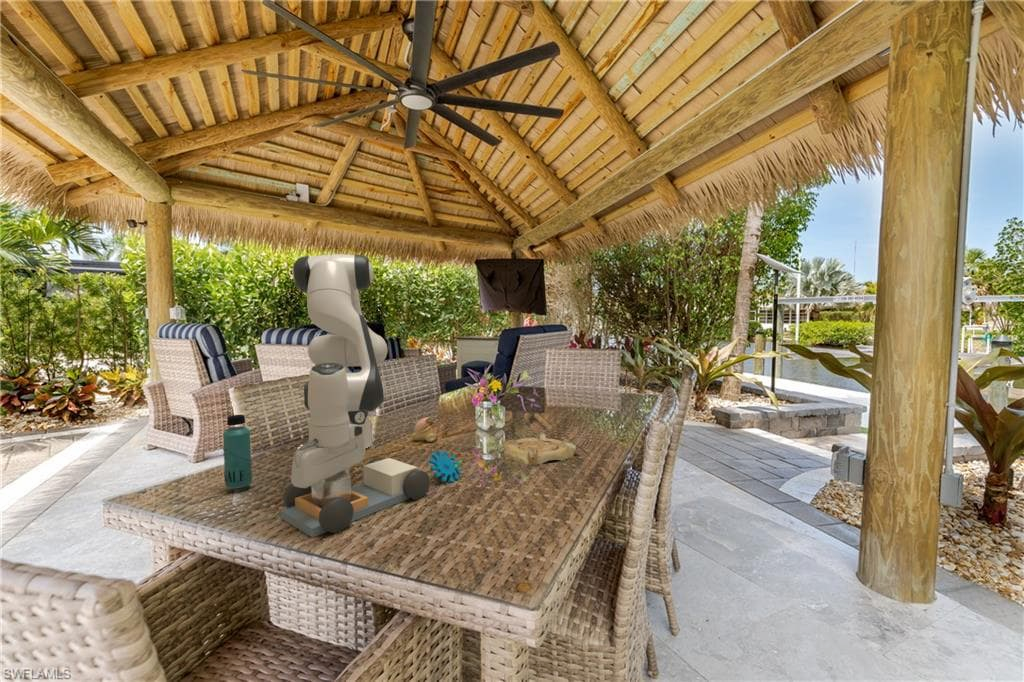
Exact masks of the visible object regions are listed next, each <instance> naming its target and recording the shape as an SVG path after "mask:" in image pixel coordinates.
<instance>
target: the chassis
mask: <svg viewBox="0 0 1024 682" xmlns="http://www.w3.org/2000/svg"><path fill="white" fill-rule="evenodd" d="M430 480H431V479H430V477H429V474H428V473H427V472H425V471H424V470H423V471H422V470H420V469H418V467H417V466H414V465H412V464H408V463H406V462H403V461H400V460H397V459H394V458H392V457H391V458H390V457H387V458H384V457H381V456H377V457H373V458H372V459H371V460H370V461H369V462H368V463H367V464H364V465H363V482H362V483H358V484H356V485H351V500H350V501H348V500H346V499H344V498H341V497H335V498H332V499H330V500H329V501H327V502H326V503H325V504H324V506H323V505H318V504H313V503H312V486H309V487H307V488H299V487H295V486H294V485H293V484H292V483H290V484H289V485H288V486H287V488H286V489H285V491H284V493H283V497H282V500H283V504H284V506H285V507H286V508H284V509H281V510H280V517H281V520H283V521H284V522H286V523H288V524H289V525H290V526H293V527H294V528H296V529H297V528H298V529H297V530H299V531H301V532H302V533H304V534H305V535H307V536H308V537H310V538H311V539H312V538H316V537H318V536H321V535H323V534H326V533H332V534H333V533H334V534H337V533H340V532H343V530H345V529H346V528H347V527H348V526H349V525H350V522H351V523H353V522H355V520H356V521H358V520H360V518H361V519H363V518H365V516H366V517H368V516H370V515H369V514H371V515H373V514H375V513H374V512H376V513H378V512H380V511H379V510H381V511H383V510H385V508H386V509H388V508H391V507H393V506H395V505H394V504H396V505H398V504H400V502H401V503H403V502H405V500H406V501H408V500H410V498H411V500H415V501H417V499H418V500H420V499H422V498H423V497H424V496H425V495H426V494H427V493H428V492H430V484H431V482H430ZM427 491H428V492H427ZM407 499H408V500H407ZM402 501H403V502H402ZM397 503H398V504H397ZM392 505H393V506H392ZM390 506H391V507H390ZM387 507H388V508H387ZM382 509H383V510H382ZM377 511H378V512H377ZM372 513H373V514H372ZM367 515H368V516H367ZM362 517H363V518H362Z"/></svg>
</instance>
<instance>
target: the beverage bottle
mask: <svg viewBox="0 0 1024 682" xmlns="http://www.w3.org/2000/svg"><path fill="white" fill-rule="evenodd" d="M245 417H246V416H245V415H244V414H233V415H229V416H227V419H226V420H227V421H226V425H227V426H233V427H228V428H227V429H226V430H225V431H224V432H223V433H222V437H223V439H222V440H223V442H222V444H223V446H222V450H223V451H222V452H223V467H224V470H223V471H224V473H223V475H224V485H225V487H226V488H227V489H239V488H240V489H241V488H244V487H247V486H249V485H251V484H252V482H253V469H252V468H253V467H252V449H251V430H250V429H249V428H247V427H246V426H241V425H243V424H245V423H246V418H245ZM238 425H239V426H238Z"/></svg>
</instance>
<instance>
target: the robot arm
mask: <svg viewBox="0 0 1024 682" xmlns="http://www.w3.org/2000/svg"><path fill="white" fill-rule="evenodd" d="M292 278H293V282H294V284H295V286H296V288H297V289H298V290H299V291H301V292H303V293H306V305H307V306H306V307H307V314H308V317H309V319H310V322H312V323H313V324H314V325H315V326H316V327H317V328H319V329H321V330H323V331H325V332H326V333H329V334H323V335H319V336H314V337H313V338H312V339H311V341H310V343H309V344H308V348H307V354H308V357H309V359H310V361H311V362H312V364H314V366H312V367H311V368H310V370H309V374H308V380H307V382H305V384H304V385H303V401H304V403H303V404H304V407H305V408H306V409H307V410H309V414H310V415H309V418H308V441H307V442H305V443H302V444H300V445H298V447H297V448H296V449H295V451H294V453H293V459H292V464H291V465H292V466H291V474H290V475H291V476H290V477H291V478H290V479H291V484H293V485H294V486H295V487H299V488H307V487H309V486H312V487H313V488H314V490H315V491H316V498H317V499H323V498H324V497H326V496H327V494H326V493H327V490H326V489H323V488H322V486H321V485H322V484H323V480H324V479H326V478H328V477H330V476H332V475H334V474H337V473H344V474H349V473H350V468H351V467H353V466H355V465H357V464H359V463H362V462H363V461H364V459H365V456H366V450H367V449H368V447H369V448H371V447H372V446H373V445H372V443H373V444H374V442H375V440H376V438H375V437H374V436H373V431H372V421H371V418H369V412H373V411H375V410H377V409H378V408H379V407H380V406H381V405H382V404H383V403H384V401H385V398H386V397H385V395H386V389H385V384H384V382H383V379H382V377H381V373H380V371H379V368H378V365H379V364H382V363H383V362H384V361H385V359H386V358H387V355H388V352H389V351H388V345H387V343H386V341H385V339H384V338H383V337H382V336H381V335H380V334H377V333H376V332H374V331H373V330H372V329H371V328H370V327H369V326H368V324H367V321H366V318H365V317H364V316H363V313H362V307H361V302H360V301H361V300H360V293H359V291H362V290H366V289H368V288H369V287H371V285H372V281H373V279H374V269H373V265H372V264H371V262H370V258H368V257H367V256H366V255H362V254H358V253H357V254H346V253H345V254H343V253H332V254H324V255H323V254H322V255H321V254H320V255H314V256H309V255H305V256H302V257H299V258H297V259H296V260H295V261H294V263H293V267H292ZM348 367H360V368H361V370H360V371H357V372H350V371H349V368H348ZM370 446H371V447H370ZM366 448H367V449H366Z"/></svg>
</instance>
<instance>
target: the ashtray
mask: <svg viewBox="0 0 1024 682" xmlns="http://www.w3.org/2000/svg"><path fill="white" fill-rule="evenodd" d="M501 445H502V447H503V450H504V451H503V456H504V457H506V458H507V459H509V460H513V461H514V460H515V461H514V462H518V463H520V464H522V463H523V464H522V465H527V464H529V465H528V466H537V464H540V465H542V464H544V463H546V462H548V461H555V460H556V461H561V462H564V461H563V460H565V461H567V460H566V459H568V458H569V459H571V458H570V457H572V456H573V457H574V455H575V453H576V451H577V447H578V445H577V444H576V443H575V444H574V443H572V442H568V441H566V440H565V441H562V440H559V439H554V438H549V437H547V434H545V433H543V432H540V433H539V436H538V437H524V438H519V439H509V440H505V441H503V442H501ZM573 457H572V458H573ZM569 459H568V460H569Z"/></svg>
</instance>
